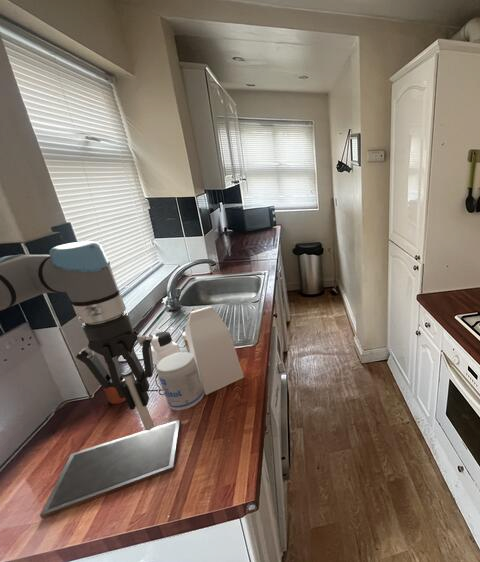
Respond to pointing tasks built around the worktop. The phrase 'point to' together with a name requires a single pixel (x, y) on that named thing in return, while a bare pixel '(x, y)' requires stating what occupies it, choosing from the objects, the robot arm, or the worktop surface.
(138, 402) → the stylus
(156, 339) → the medicine bottle
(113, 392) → the pen cup
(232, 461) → the worktop surface
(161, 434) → the tablet
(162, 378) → the supplement tub
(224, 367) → the milk
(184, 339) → the sprinkles bottle
